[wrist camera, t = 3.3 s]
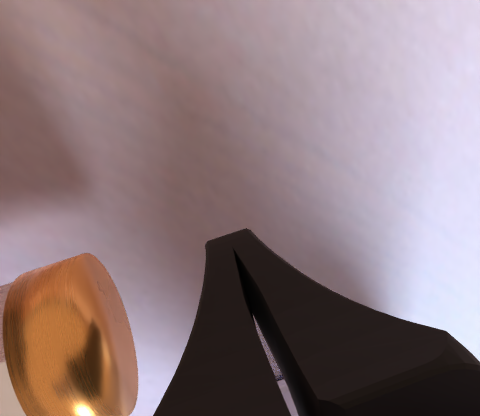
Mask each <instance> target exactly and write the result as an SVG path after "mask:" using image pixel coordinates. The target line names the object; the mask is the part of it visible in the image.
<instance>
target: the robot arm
mask: <svg viewBox="0 0 480 416" xmlns="http://www.w3.org/2000/svg"><path fill="white" fill-rule="evenodd" d="M205 248H206V264H205V274H204V281H203V288H202V293H201V298H200V302H199V306H198V310H197V315H196V318H195V322H194V325H193V328H192V331H191V334H190V337H189V340H188V343H187V346H186V348H185V351H184V353H183V356H182V358H181V361H180V363H179V365H178V368H177V370H176V372H175V374H174V376H173V378H172V380H171V382H170V384H169V386H168V388H167V390H166V392H165V394H164V396H163V398H162V400H161V402H160V404H159V406H158V408H157V409H156V411H155V413H154V415H153V416H480V362H479V361H478V360H477V359H476V357H475V356H474V355H473V354H472V353H470V352H469V351H468V350H467V349H466V348H465V347H464V346H463V345H462V344H461V343H459V342H458V341H457V340H456V339H455V338H454V337H452V336H451V335H450V334H449V333H448V332H447V331H444V330H440V329H436V328H432V327H429V326H425V325H421V324H417V323H413V322H410V321H406V320H403V319H399V318H396V317H394V316H391V315H388V314H385V313H382V312H379V311H376V310H374V309H371V308H369V307H367V306H364V305H362V304H359V303H357V302H354V301H352V300H350V299H348V298H346V297H344V296H342V295H340V294H337V293H335V292H333V291H332V290H330V289H328V288H326V287H324V286H322V285H321V284H319V283H317V282H316V281H314V280H312V279H311V278H309V277H307V276H306V275H304V274H303V273H301V272H300V271H298V270H297V269H295V268H294V267H293V266H291V265H290V264H288V263H287V262H286V261H284V260H283V259H282V258H281V257H279V256H278V255H277V254H275V253H274V252H273V251H272V250H271V249H269V248H268V247H267V246H266V245H265V244H264V243H263V242H262V241H260V240H259V239H258V238H257V237H256V236H255V235H254V234H253V232H252V231H251V230H249V229H247V228H246V229H243V230H240V231H237V232H234V233H231V234H228V235H225V236H222V237H219V238H216V239H213V240H210V241H208V242H207V243H206V245H205ZM252 313H253V314H252ZM253 315H254V317H255V320H256V322H257V324H258V326H259V328H260V330H261V332H262V334H263V336H264V338H265V340H266V342H267V344H268V346H269V348H270V350H271V352H272V354H273V356H274V358H275V361H276V363H277V365H278V367H279V369H280V371H281V373H282V375H283V377H284V379H283V380H280V381H277V380H276V378H275V376H274V373H273V371H272V368H271V366H270V363H269V361H268V358H267V356H266V353H265V351H264V348H263V346H262V343H261V341H260V338H259V336H258V333H257V330H256V326H255V322H254V318H253Z"/></svg>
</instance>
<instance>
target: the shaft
mask: <svg viewBox="0 0 480 416" xmlns="http://www.w3.org/2000/svg"><path fill="white" fill-rule="evenodd" d="M137 395H138V367H137V359H136V352H135V346H134V341H133V336H132V332H131V328H130V324H129V321H128V317H127V314H126V311H125V308H124V305H123V303H122V300H121V298H120V295H119V293H118V290H117V288H116V286H115V284H114V282H113V280H112V278H111V277H110V275H109V273H108V271H107V270H106V268H105V267H104V266H103V264H102V263H101V262H100V261H99V260H98V259H97V258H96V257H95V256H93V255H91V254H89V253H84V254H81V255H78V256H75V257H71V258H68V259H65V260H62V261H59V262H56V263H53V264H50V265H47V266H44V267H41V268H38V269H35V270H32V271H29V272H26V273H23V274H22V275H20V276H19V277H18V278H17V279H15V281H14V282H11V283H8V284H5V285H2V286H0V416H128V415H130V414H131V413H132V411H133V410H134V408H135V405H136V401H137Z"/></svg>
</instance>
